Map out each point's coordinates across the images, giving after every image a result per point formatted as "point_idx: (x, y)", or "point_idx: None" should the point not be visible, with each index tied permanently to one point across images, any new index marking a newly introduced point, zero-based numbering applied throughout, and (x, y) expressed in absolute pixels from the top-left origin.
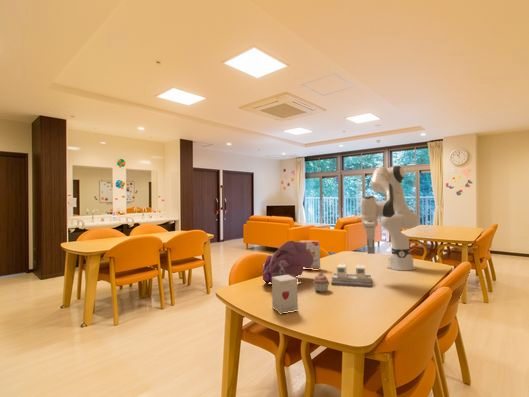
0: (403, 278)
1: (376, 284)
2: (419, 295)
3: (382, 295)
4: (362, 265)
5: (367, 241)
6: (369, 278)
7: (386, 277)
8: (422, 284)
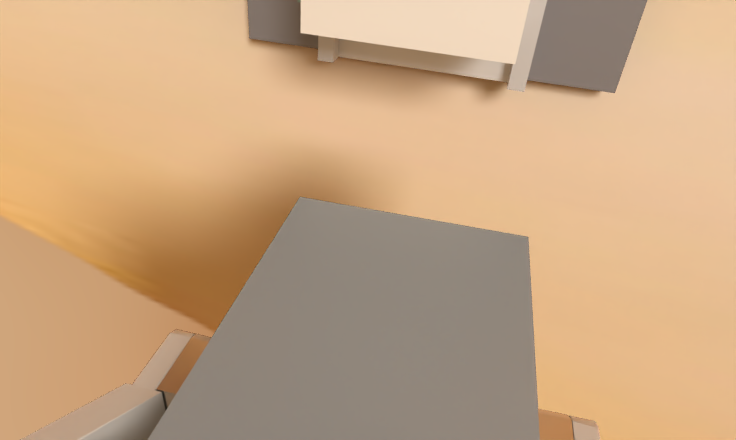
0: (581, 355)
1: (367, 99)
2: (165, 298)
3: (71, 84)
4: (500, 21)
5: (161, 430)
6: (432, 57)
7: (636, 246)
8: None
